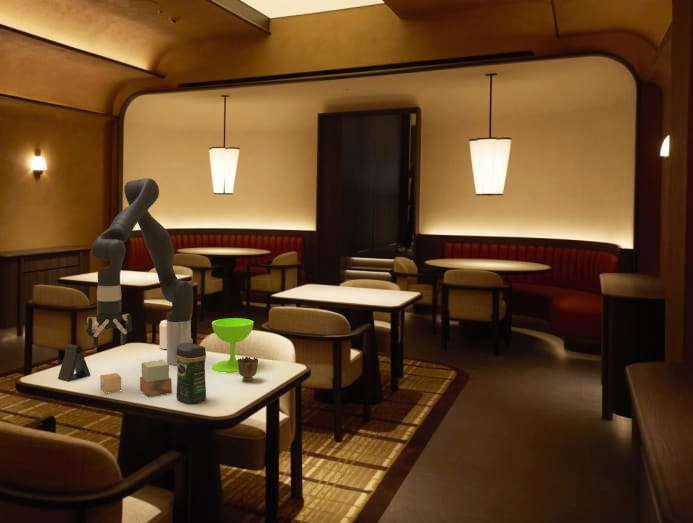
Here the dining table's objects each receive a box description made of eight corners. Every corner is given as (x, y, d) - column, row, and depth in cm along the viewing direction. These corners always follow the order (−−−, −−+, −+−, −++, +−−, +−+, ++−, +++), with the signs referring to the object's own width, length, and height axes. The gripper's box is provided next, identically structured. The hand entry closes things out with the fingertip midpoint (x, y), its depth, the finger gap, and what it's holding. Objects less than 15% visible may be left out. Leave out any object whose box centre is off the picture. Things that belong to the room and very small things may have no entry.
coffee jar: (210, 400, 193) (210, 344, 191) (189, 406, 187) (189, 348, 185) (193, 393, 199) (192, 339, 197) (172, 399, 193) (172, 343, 191)
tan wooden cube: (116, 387, 205) (116, 372, 204) (121, 391, 200) (121, 376, 200) (100, 389, 202) (100, 375, 201) (104, 393, 197) (104, 379, 197)
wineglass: (206, 364, 235) (206, 320, 233) (244, 360, 243) (244, 317, 241) (219, 375, 221) (219, 327, 219) (259, 370, 229) (259, 324, 227)
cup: (261, 379, 217) (262, 357, 216) (252, 384, 210) (252, 362, 210) (243, 376, 220) (243, 355, 219) (233, 382, 213) (233, 360, 212)
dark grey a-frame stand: (67, 381, 209) (67, 348, 208) (57, 378, 212) (57, 346, 211) (90, 375, 217) (90, 343, 216) (80, 373, 220) (79, 341, 219)
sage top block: (162, 374, 204) (162, 359, 204) (168, 379, 199) (168, 364, 198) (141, 377, 201) (141, 362, 200) (147, 382, 195) (147, 367, 194)
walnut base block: (163, 387, 206) (163, 373, 205) (171, 393, 199) (171, 378, 199) (140, 391, 201) (140, 376, 201) (147, 397, 195) (147, 382, 194)
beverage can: (161, 351, 255) (161, 323, 254) (158, 346, 262) (158, 320, 261) (180, 349, 259) (180, 322, 258) (176, 345, 266) (176, 319, 265)
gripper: (127, 295, 205) (128, 341, 207) (83, 298, 197) (84, 346, 198) (134, 298, 199) (134, 345, 201) (89, 301, 191) (89, 350, 192)
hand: (109, 346), depth 200 cm, fingers open, 8 cm apart
